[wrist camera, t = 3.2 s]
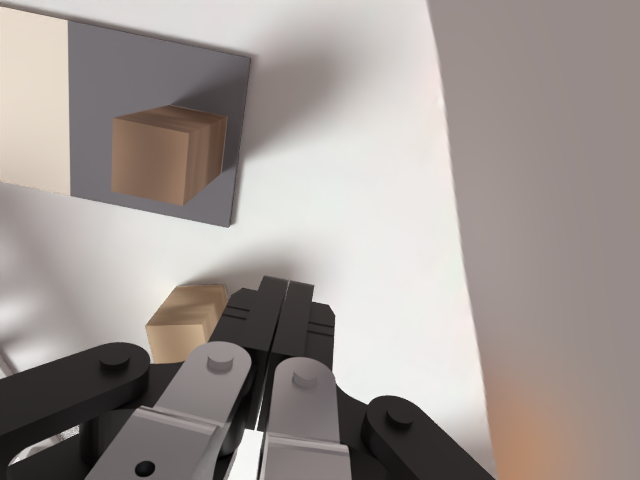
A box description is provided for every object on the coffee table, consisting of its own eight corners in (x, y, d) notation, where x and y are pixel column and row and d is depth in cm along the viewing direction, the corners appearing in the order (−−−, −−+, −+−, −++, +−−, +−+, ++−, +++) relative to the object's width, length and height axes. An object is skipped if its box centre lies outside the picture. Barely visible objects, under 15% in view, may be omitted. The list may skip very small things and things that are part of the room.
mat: (250, 58, 30) (249, 58, 29) (229, 226, 34) (228, 227, 34) (-20, 2, 29) (-25, 1, 29) (-6, 178, 34) (-10, 179, 33)
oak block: (225, 284, 36) (202, 324, 30) (232, 327, 37) (211, 373, 32) (176, 285, 36) (145, 325, 31) (185, 328, 38) (156, 374, 32)
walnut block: (227, 116, 31) (188, 133, 23) (221, 173, 32) (183, 206, 25) (170, 104, 31) (112, 117, 23) (166, 161, 32) (111, 191, 25)
